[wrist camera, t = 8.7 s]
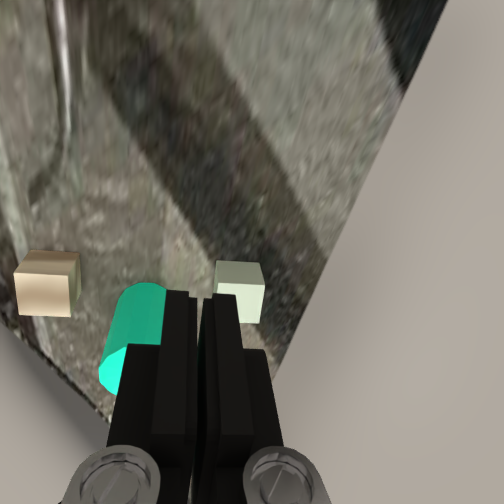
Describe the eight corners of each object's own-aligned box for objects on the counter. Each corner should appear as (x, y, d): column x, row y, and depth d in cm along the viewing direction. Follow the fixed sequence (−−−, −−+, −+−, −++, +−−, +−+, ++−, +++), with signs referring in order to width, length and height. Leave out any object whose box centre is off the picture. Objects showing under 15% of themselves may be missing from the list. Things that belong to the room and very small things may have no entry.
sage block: (216, 259, 45) (218, 282, 41) (259, 262, 45) (265, 285, 41) (212, 296, 47) (214, 321, 43) (253, 298, 47) (258, 323, 43)
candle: (181, 322, 48) (176, 407, 37) (127, 333, 47) (107, 421, 37) (167, 277, 45) (158, 354, 34) (110, 288, 45) (83, 369, 34)
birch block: (31, 249, 42) (13, 272, 38) (79, 252, 42) (67, 275, 39) (35, 288, 44) (19, 314, 40) (81, 290, 44) (70, 316, 41)
